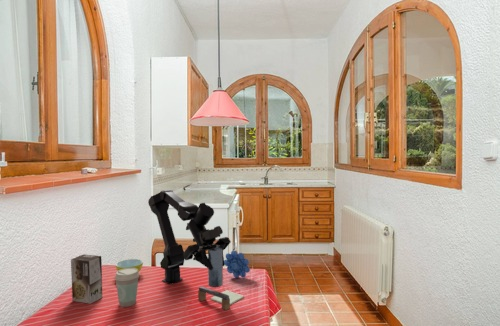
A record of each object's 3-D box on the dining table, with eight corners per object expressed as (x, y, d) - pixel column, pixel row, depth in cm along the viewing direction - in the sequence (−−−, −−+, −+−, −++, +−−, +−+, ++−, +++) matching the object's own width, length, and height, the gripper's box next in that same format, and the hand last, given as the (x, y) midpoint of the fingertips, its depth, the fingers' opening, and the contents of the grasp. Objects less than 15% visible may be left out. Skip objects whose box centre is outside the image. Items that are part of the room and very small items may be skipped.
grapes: (221, 280, 142) (221, 253, 142) (225, 274, 149) (225, 248, 149) (248, 282, 140) (247, 254, 140) (250, 276, 147) (250, 249, 146)
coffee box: (103, 297, 127) (102, 255, 127) (90, 304, 121) (89, 260, 120) (85, 294, 130) (84, 253, 130) (71, 301, 124) (70, 258, 123)
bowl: (134, 282, 142) (134, 267, 142) (110, 280, 144) (110, 266, 144) (147, 272, 153) (147, 259, 153) (125, 271, 155) (125, 258, 155)
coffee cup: (115, 300, 123) (114, 269, 123) (138, 296, 127) (138, 266, 126) (115, 310, 116) (114, 277, 115) (140, 306, 119) (140, 273, 119)
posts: (198, 299, 123) (198, 290, 123) (202, 297, 125) (202, 288, 125) (226, 310, 115) (225, 300, 115) (229, 308, 116) (229, 298, 116)
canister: (205, 286, 119) (205, 250, 119) (212, 280, 124) (212, 246, 124) (218, 288, 117) (218, 252, 117) (225, 282, 122) (224, 248, 122)
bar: (198, 290, 124) (198, 287, 124) (201, 289, 125) (201, 286, 125) (226, 299, 115) (226, 296, 115) (228, 298, 116) (228, 295, 116)
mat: (210, 299, 124) (210, 298, 124) (226, 291, 131) (226, 290, 131) (228, 305, 118) (228, 304, 118) (244, 297, 125) (244, 295, 125)
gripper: (187, 223, 116) (206, 261, 109) (227, 216, 129) (247, 249, 122) (175, 241, 122) (193, 279, 114) (215, 232, 135) (233, 265, 127)
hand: (217, 267), depth 119 cm, fingers closed on canister, 5 cm apart
